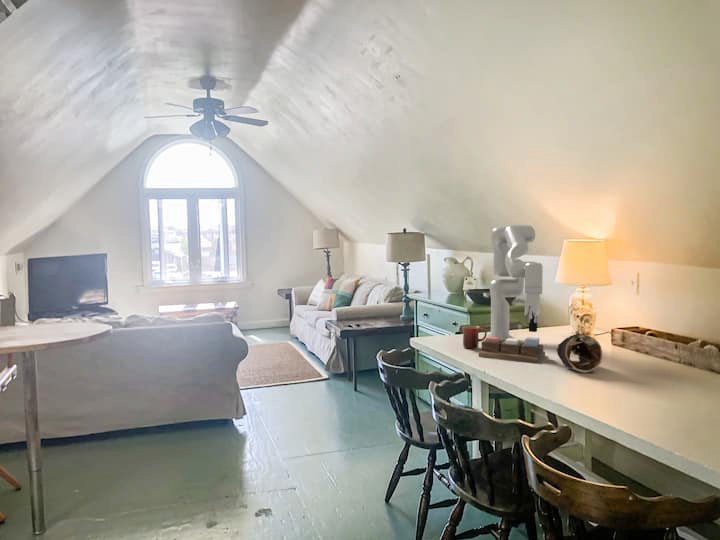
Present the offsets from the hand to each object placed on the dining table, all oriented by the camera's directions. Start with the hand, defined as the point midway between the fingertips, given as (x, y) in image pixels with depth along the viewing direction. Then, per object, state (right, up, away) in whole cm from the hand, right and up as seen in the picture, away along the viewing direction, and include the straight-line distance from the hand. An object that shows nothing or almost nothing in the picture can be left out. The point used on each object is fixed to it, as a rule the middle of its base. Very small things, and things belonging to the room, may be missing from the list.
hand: (532, 331), depth 245 cm
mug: (-21, -11, +24) cm, 34 cm away
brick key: (-16, -8, +10) cm, 20 cm away
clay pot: (+14, -14, -13) cm, 23 cm away
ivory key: (-8, -8, +6) cm, 13 cm away
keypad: (-8, -12, +6) cm, 15 cm away
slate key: (0, -7, +1) cm, 7 cm away
